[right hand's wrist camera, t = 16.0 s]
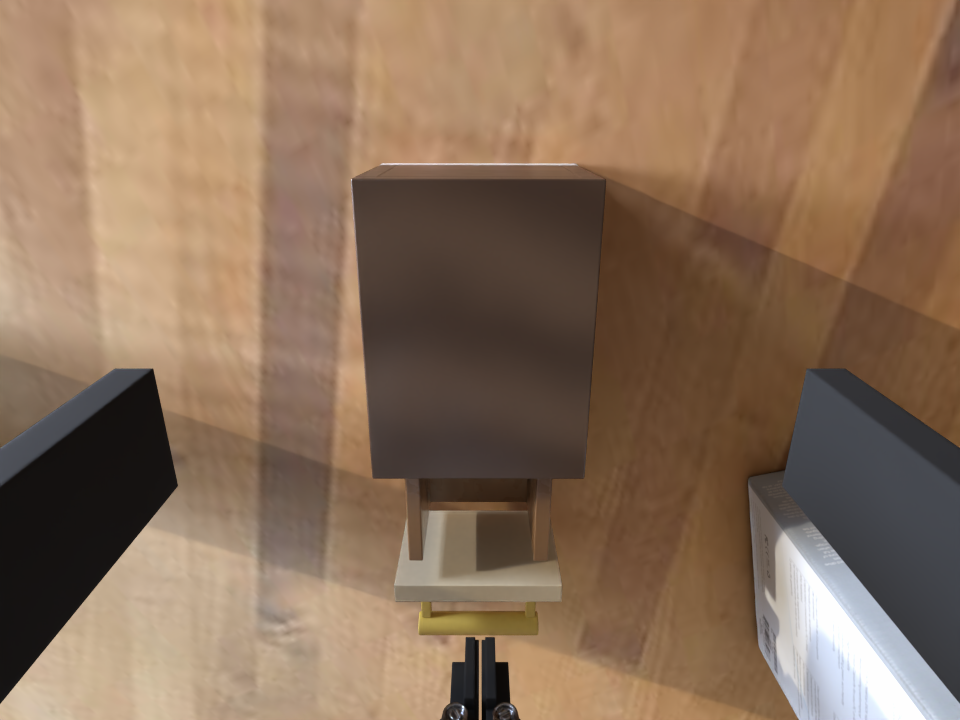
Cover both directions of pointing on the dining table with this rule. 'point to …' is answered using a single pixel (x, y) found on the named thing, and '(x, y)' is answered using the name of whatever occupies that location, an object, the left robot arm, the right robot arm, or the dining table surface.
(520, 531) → the drawer
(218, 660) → the dining table surface
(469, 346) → the cabinet
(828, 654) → the hard drive box
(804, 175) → the dining table surface
